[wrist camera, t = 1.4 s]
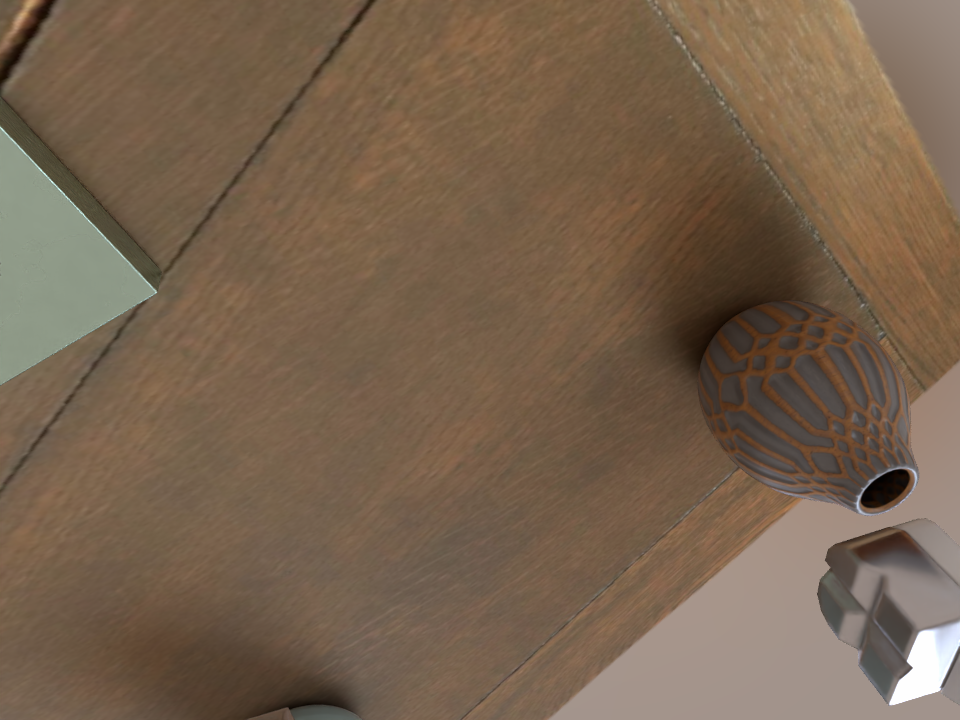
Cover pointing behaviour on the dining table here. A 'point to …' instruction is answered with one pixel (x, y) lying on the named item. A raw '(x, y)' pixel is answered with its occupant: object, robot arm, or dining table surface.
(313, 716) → the cup
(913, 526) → the robot arm
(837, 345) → the vase
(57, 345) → the green metallic slab
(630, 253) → the dining table surface
